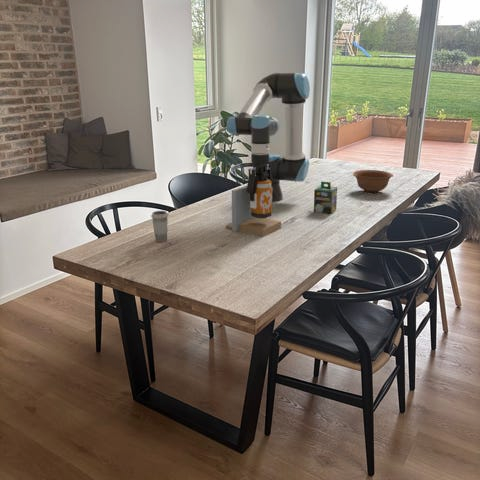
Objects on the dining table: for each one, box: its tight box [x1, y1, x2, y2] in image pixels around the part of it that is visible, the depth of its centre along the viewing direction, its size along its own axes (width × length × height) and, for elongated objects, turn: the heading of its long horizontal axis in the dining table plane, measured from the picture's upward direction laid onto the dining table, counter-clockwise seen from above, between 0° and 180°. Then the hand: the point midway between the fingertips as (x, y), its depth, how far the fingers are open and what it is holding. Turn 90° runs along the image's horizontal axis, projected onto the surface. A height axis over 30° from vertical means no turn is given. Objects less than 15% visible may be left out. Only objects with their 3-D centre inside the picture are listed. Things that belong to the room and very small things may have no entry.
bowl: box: [352, 169, 394, 195], centre depth 275 cm, size 22×22×11 cm
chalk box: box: [313, 181, 338, 215], centre depth 239 cm, size 9×9×15 cm
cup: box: [150, 210, 169, 243], centre depth 199 cm, size 7×7×12 cm
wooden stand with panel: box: [225, 185, 282, 237], centre depth 216 cm, size 20×24×18 cm
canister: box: [251, 172, 273, 219], centre depth 210 cm, size 9×11×20 cm
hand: (259, 205), depth 211 cm, fingers closed on canister, 9 cm apart
